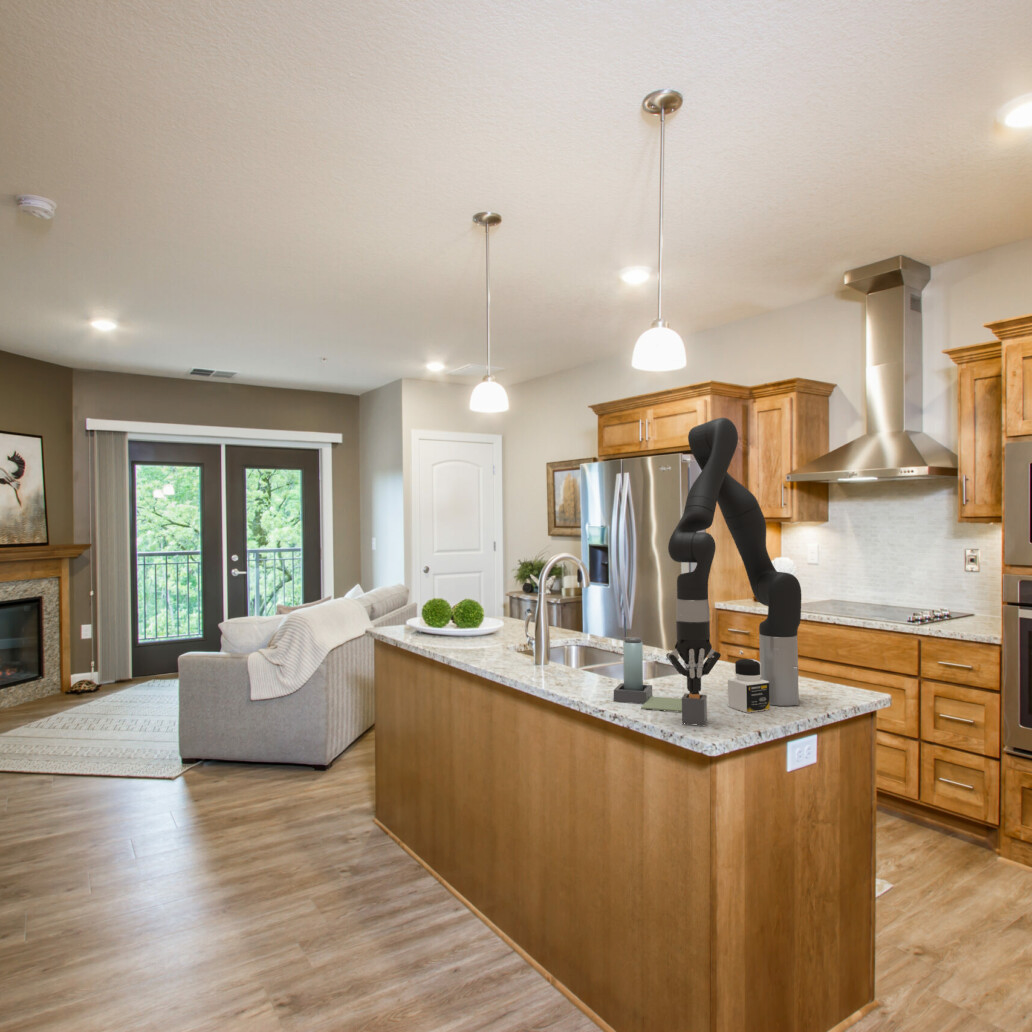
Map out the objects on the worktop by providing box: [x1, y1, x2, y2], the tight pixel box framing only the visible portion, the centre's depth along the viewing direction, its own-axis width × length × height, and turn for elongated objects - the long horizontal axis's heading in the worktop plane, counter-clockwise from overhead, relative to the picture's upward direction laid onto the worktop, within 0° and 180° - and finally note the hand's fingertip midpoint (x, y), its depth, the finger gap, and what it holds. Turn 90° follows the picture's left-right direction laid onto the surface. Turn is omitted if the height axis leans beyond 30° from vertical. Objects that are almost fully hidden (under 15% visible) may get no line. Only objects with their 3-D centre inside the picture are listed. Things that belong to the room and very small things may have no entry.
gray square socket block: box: [681, 693, 708, 726], centre depth 169 cm, size 5×5×6 cm
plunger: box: [688, 692, 700, 699], centre depth 169 cm, size 2×2×6 cm
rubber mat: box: [640, 696, 682, 713], centre depth 185 cm, size 12×12×1 cm
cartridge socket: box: [613, 682, 653, 704], centre depth 192 cm, size 8×8×3 cm
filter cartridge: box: [622, 636, 644, 691], centre depth 192 cm, size 5×5×16 cm
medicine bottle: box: [727, 658, 771, 714], centre depth 181 cm, size 7×7×12 cm
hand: (694, 693), depth 169 cm, fingers closed
